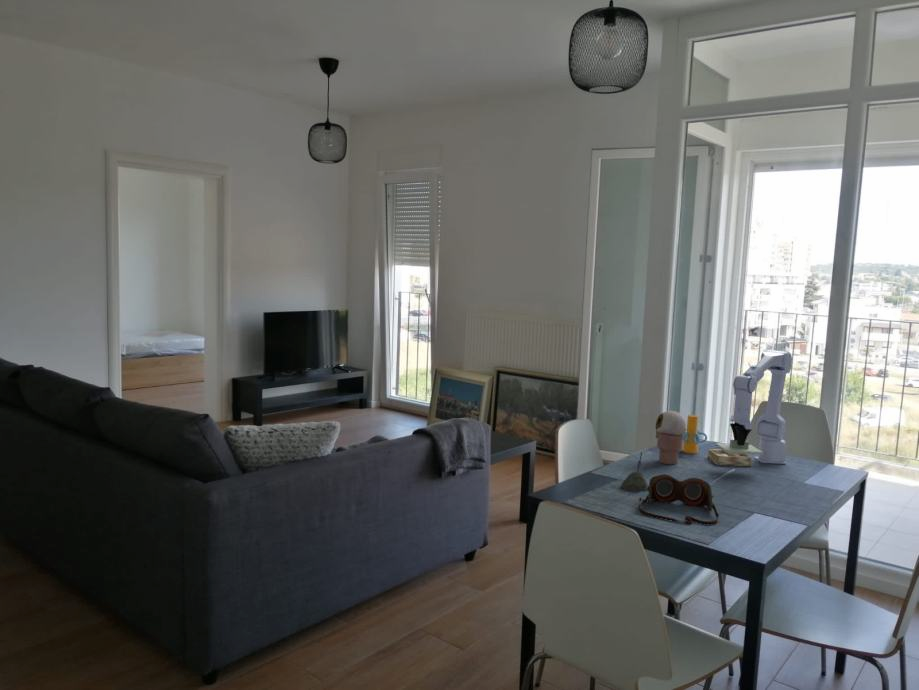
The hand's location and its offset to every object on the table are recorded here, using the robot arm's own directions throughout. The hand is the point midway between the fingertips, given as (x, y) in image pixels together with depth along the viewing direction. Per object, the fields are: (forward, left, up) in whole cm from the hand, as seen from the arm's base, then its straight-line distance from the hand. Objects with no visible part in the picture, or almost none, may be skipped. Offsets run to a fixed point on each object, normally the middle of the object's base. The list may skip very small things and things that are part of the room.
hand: (739, 444), depth 263 cm
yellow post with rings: (+9, -26, -11) cm, 29 cm away
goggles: (+37, +46, -11) cm, 60 cm away
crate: (-2, -13, -10) cm, 17 cm away
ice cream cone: (+23, -9, -11) cm, 27 cm away
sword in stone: (+44, +25, -11) cm, 52 cm away
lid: (0, 0, -2) cm, 2 cm away
